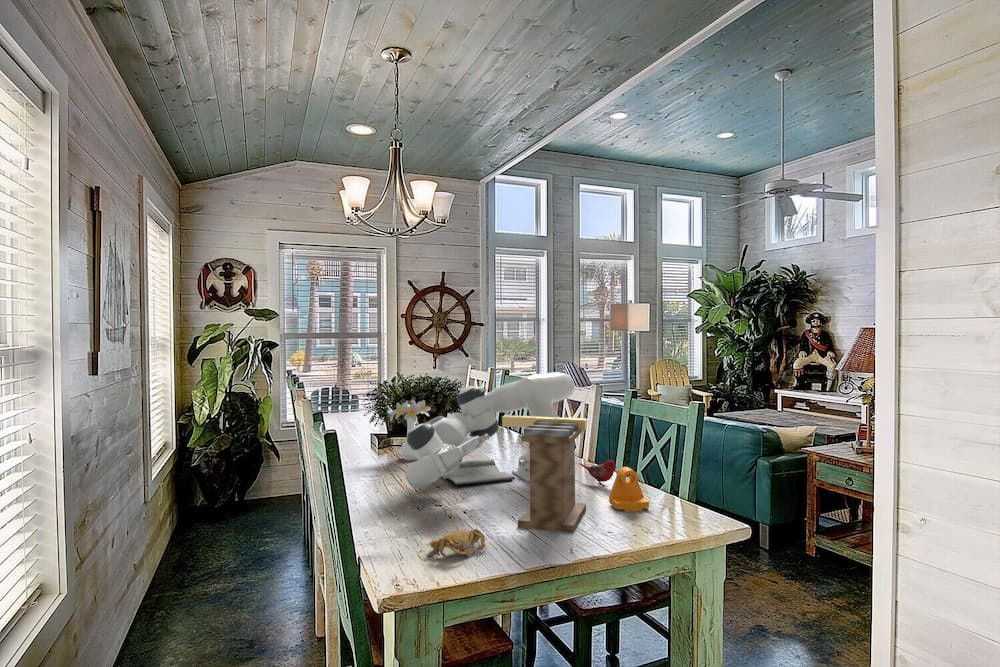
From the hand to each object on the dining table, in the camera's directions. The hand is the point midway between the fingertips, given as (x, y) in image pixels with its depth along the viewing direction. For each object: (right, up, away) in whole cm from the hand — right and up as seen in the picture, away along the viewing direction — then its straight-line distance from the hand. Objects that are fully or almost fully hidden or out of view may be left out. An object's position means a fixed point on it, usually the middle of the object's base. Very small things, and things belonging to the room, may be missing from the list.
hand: (483, 438), depth 194 cm
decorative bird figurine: (+40, -21, +24) cm, 51 cm away
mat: (-4, -21, +36) cm, 42 cm away
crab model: (-6, -23, -36) cm, 43 cm away
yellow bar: (+19, +5, -6) cm, 20 cm away
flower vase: (-33, -20, +66) cm, 77 cm away
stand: (+21, -22, -12) cm, 33 cm away
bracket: (+46, -21, -2) cm, 51 cm away
